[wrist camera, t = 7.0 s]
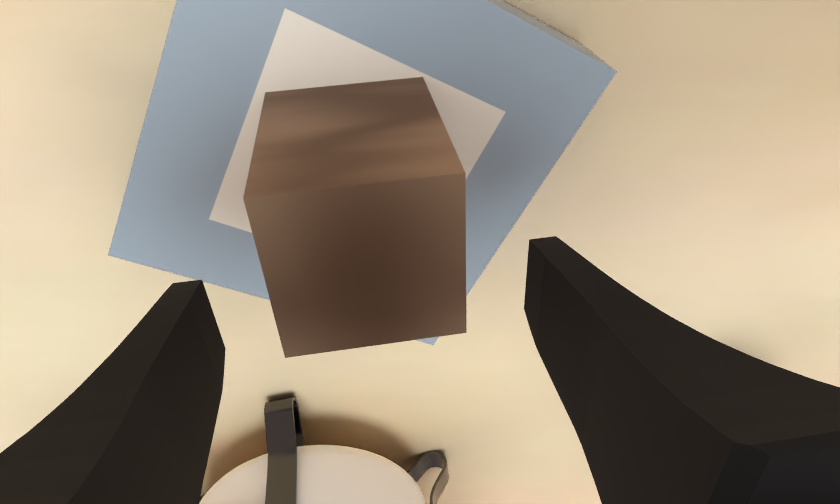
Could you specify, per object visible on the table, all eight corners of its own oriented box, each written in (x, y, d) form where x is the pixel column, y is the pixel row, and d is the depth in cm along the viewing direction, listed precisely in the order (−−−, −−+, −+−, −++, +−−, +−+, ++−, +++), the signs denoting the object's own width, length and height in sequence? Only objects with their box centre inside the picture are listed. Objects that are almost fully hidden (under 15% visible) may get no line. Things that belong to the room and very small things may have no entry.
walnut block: (422, 76, 17) (465, 172, 12) (429, 209, 19) (466, 332, 15) (265, 92, 16) (242, 198, 12) (293, 226, 19) (285, 357, 14)
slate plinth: (580, 43, 20) (617, 71, 18) (422, 297, 26) (433, 345, 23) (232, -150, 16) (216, -148, 13) (132, 207, 21) (107, 255, 19)
